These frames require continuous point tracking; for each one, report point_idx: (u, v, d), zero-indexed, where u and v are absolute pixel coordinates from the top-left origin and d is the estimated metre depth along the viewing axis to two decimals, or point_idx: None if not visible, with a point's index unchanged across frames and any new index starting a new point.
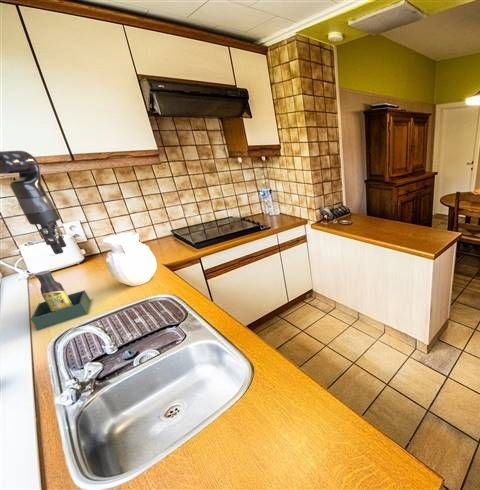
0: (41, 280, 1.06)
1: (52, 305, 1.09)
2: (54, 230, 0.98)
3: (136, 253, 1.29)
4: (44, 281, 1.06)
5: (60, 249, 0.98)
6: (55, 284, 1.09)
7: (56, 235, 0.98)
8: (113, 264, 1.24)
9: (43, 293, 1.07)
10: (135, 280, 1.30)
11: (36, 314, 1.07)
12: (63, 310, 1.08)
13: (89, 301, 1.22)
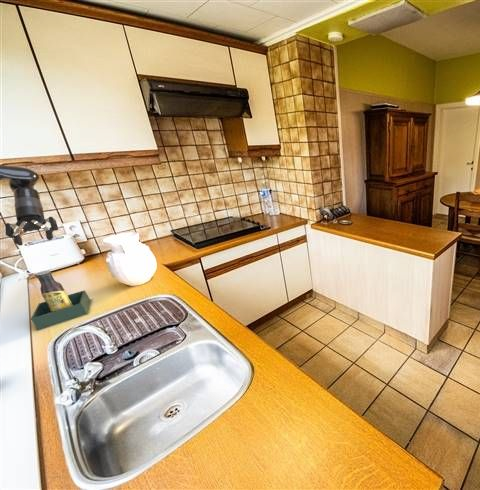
0: (41, 280, 1.06)
1: (52, 305, 1.09)
2: None
3: (136, 253, 1.29)
4: (44, 281, 1.06)
5: None
6: (55, 284, 1.09)
7: None
8: (113, 264, 1.24)
9: (43, 293, 1.07)
10: (135, 280, 1.30)
11: (36, 314, 1.07)
12: (63, 310, 1.08)
13: (89, 301, 1.22)
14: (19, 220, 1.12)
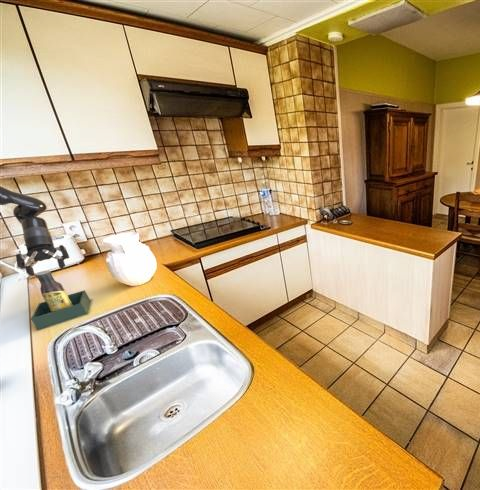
0: (41, 280, 1.06)
1: (52, 305, 1.09)
2: None
3: (136, 253, 1.29)
4: (44, 281, 1.06)
5: None
6: (55, 284, 1.09)
7: None
8: (113, 264, 1.24)
9: (43, 293, 1.07)
10: (135, 280, 1.30)
11: (36, 314, 1.07)
12: (63, 310, 1.08)
13: (89, 301, 1.22)
14: (29, 250, 1.12)
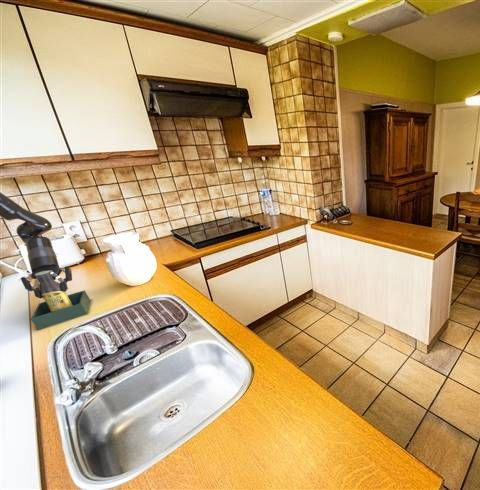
0: (40, 280, 1.06)
1: (52, 305, 1.09)
2: None
3: (136, 253, 1.29)
4: (43, 281, 1.06)
5: None
6: (54, 284, 1.09)
7: None
8: (113, 264, 1.24)
9: (43, 293, 1.07)
10: (135, 280, 1.30)
11: (36, 314, 1.07)
12: (63, 310, 1.08)
13: (89, 301, 1.22)
14: (34, 272, 1.09)
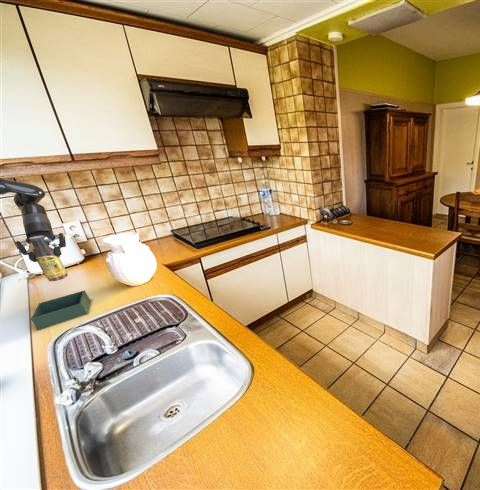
0: (34, 244, 1.09)
1: (46, 269, 1.12)
2: None
3: (136, 253, 1.29)
4: (37, 245, 1.09)
5: None
6: (48, 249, 1.12)
7: None
8: (113, 264, 1.24)
9: (37, 257, 1.10)
10: (135, 280, 1.30)
11: (36, 314, 1.07)
12: (63, 310, 1.08)
13: (89, 301, 1.22)
14: (29, 236, 1.12)
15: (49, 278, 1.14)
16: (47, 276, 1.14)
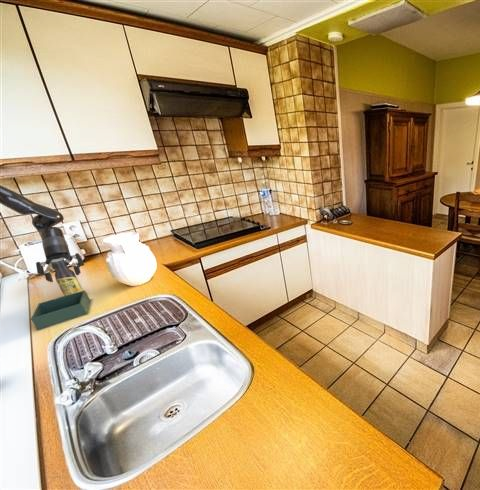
0: (56, 267, 1.18)
1: (65, 289, 1.21)
2: None
3: (136, 253, 1.29)
4: (58, 268, 1.18)
5: None
6: (68, 271, 1.21)
7: None
8: (113, 264, 1.24)
9: (57, 278, 1.19)
10: (135, 280, 1.30)
11: (36, 314, 1.07)
12: (63, 310, 1.08)
13: (89, 301, 1.22)
14: (48, 258, 1.20)
15: None
16: None
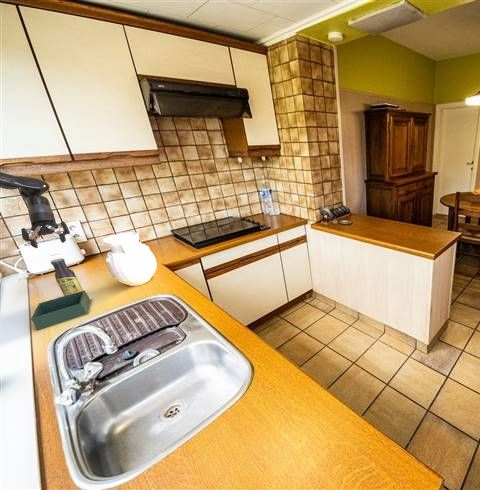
0: (56, 267, 1.18)
1: (65, 289, 1.21)
2: None
3: (136, 253, 1.29)
4: (58, 268, 1.18)
5: None
6: (68, 271, 1.21)
7: None
8: (113, 264, 1.24)
9: (57, 278, 1.19)
10: (135, 280, 1.30)
11: (36, 314, 1.07)
12: (63, 310, 1.08)
13: (89, 301, 1.22)
14: (34, 225, 1.22)
15: None
16: None
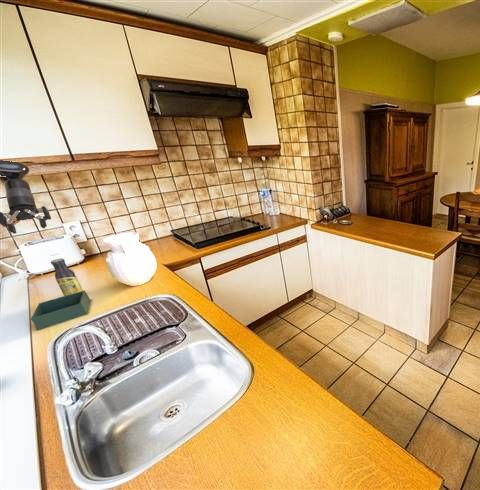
0: (56, 267, 1.18)
1: (65, 289, 1.21)
2: None
3: (136, 253, 1.29)
4: (58, 268, 1.18)
5: None
6: (68, 271, 1.21)
7: None
8: (113, 264, 1.24)
9: (57, 278, 1.19)
10: (135, 280, 1.30)
11: (36, 314, 1.07)
12: (63, 310, 1.08)
13: (89, 301, 1.22)
14: (12, 209, 1.16)
15: None
16: None
